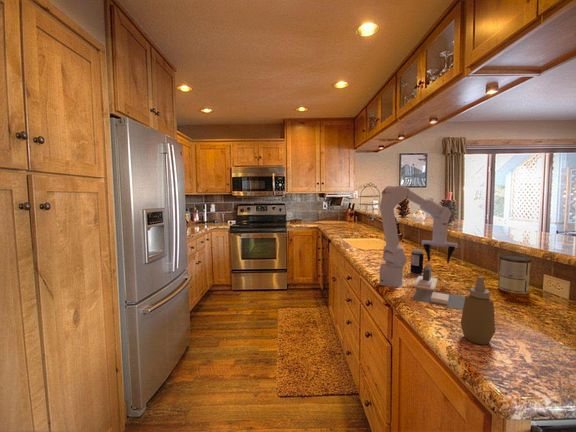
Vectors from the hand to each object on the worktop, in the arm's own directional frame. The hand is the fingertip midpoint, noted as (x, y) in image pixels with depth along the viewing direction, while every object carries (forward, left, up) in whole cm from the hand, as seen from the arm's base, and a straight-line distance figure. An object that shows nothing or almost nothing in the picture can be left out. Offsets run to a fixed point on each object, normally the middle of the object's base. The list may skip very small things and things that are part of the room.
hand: (438, 261), depth 127 cm
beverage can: (-10, +8, -10) cm, 16 cm away
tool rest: (-4, -7, -9) cm, 12 cm away
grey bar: (-4, -6, -8) cm, 11 cm away
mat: (+4, -24, -9) cm, 26 cm away
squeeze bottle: (+14, -51, -10) cm, 54 cm away
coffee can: (+28, +6, -10) cm, 30 cm away
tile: (+3, -23, -8) cm, 24 cm away
